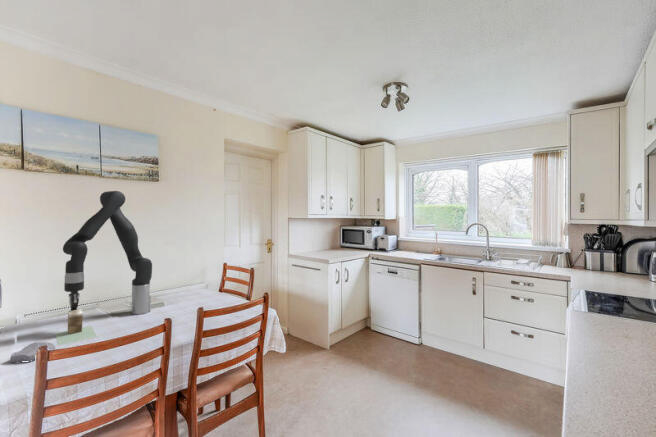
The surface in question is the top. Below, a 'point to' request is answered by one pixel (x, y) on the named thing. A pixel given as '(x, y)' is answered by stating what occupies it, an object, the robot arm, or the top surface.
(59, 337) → the sage mat
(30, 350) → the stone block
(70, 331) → the walnut block
